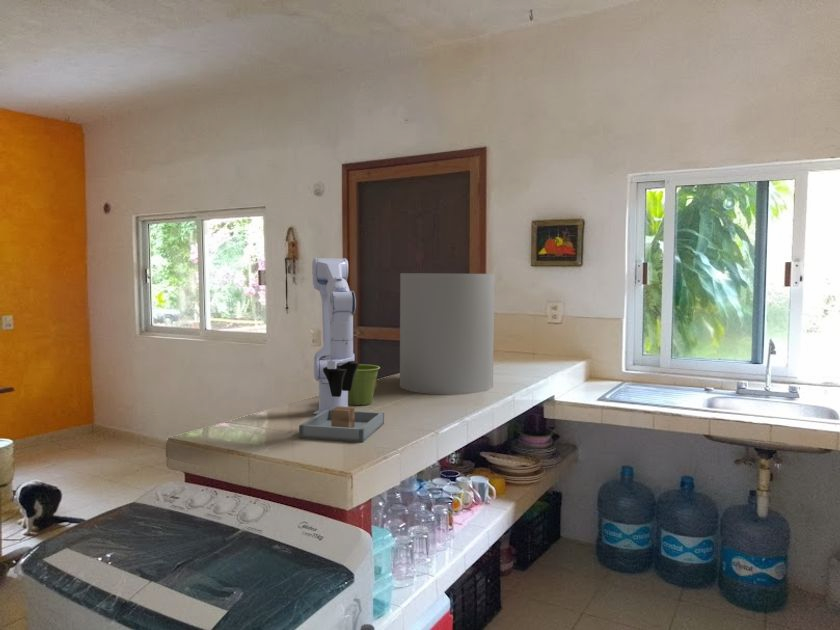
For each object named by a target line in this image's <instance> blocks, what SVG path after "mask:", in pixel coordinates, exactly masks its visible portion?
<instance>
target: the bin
mask: <svg viewBox="0 0 840 630" xmlns="http://www.w3.org/2000/svg"><path fill="white" fill-rule="evenodd" d="M384 424H385V412H380V411H363V410H362V411H361V410H355V426H354V427H353V428H348V427H333V426H331V410H330V409H326V410H325V411H323V412H321V413H320V414H315V416H312V418H310V419H308V420H306V421H303V423H301V424H299V426H298V428H299V429H298V431H299V432H298V437H299V439H310V440H312V439H315V440H328V441H341V442H353V443H354V442H355V443H363V442H365V441H366V440H367V439H369V438H370V437H371V436H372V435H373V434H374V433H376V432H377V431H379V429H380V428H381V427H382V426H383V425H384Z"/></svg>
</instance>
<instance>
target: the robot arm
mask: <svg viewBox="0 0 840 630" xmlns="http://www.w3.org/2000/svg"><path fill="white" fill-rule="evenodd" d="M311 270H312V271H311V274H312V285H313V289H315V290H317V291H319V294H320V298H321V318H322V320H321V321H322V339H323V340H322V343H323V346H322V347H321V348H320V349H318V351H316V352H315V353H314V355H313V377H314V380H315V381H316V382H317V381H318V409H317V410H316V411H313V414H314V415H318V414H320V413H321V412H323V411H325V410H326V409H330V410H332V409H334V408H335V407H337V406H344V407H349V403H348V391H351V388H352V383H353V379H354V375H355V372H356V370H357V368H358V366H359V364H360V362H358V361H355V358H356V357H355V353H354V314H355V312H356V307H357V301H356V300H357V299H356V294H355V291H354V290H350V286H349V284H348V282H347V281H348V277H349V261H348V259H347V258H345V257H343V258H333V257H332V258H331V257H330V258H325V257H324V258H320V257H314V258H313V259H312V265H311Z"/></svg>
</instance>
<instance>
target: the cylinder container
mask: <svg viewBox="0 0 840 630" xmlns="http://www.w3.org/2000/svg"><path fill="white" fill-rule="evenodd" d="M495 274H496V273H443V272H442V273H441V272H439V273H438V272H437V273H434V272H432V273H431V272H430V273H428V272H427V273H426V272H425V273H424V272H423V273H421V272H420V273H418V272H417V273H415V272H414V273H410V272H409V273H408V272H407V273H404V272H403V273H402V272H401V273H400V275H399V276H400V277H399V279H400V287H399V288H400V289H399V290H400V291H399V292H400V294H399V297H400V298H399V300H400V301H399V303H400V304H399V305H400V306H399V315H400V316H399V318H400V319H399V387H400V388H402V389H405V390H406V391H408V390H409V392H415V393H423V394H431V395H432V394H433V395H434V394H435V395H468V394H470V395H471V394H477V393H481V392H483V393H484V392H488V391H490V390H491V389H492V388H494V354H495V353H494V351H495V350H494V349H495V348H494V345H495V344H494V343H495V341H494V340H495V295H496V294H495V290H496V289H495V283H496V282H495V281H496V279H495V278H496V275H495Z"/></svg>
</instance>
